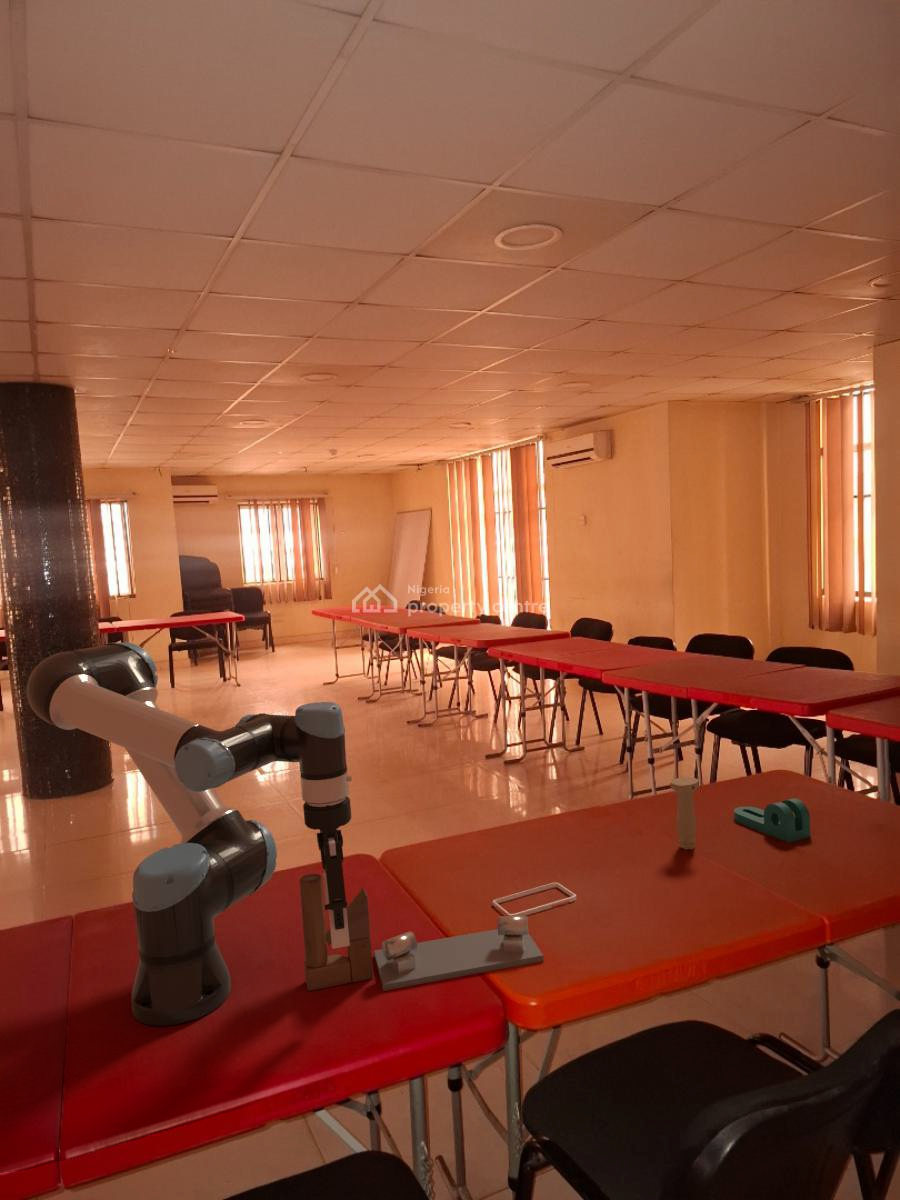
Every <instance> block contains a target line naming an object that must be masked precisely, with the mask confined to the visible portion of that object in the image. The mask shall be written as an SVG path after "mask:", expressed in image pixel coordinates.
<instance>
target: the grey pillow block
mask: <svg viewBox="0 0 900 1200" xmlns="http://www.w3.org/2000/svg"><path fill="white" fill-rule="evenodd" d="M417 943H418V941H417V938H416V935H415V934H414V932H413V931H411V930H410V931H407V932H403V933H402V934H399V935H397V936H396V935H395V936H394V937H391V938H388V939H386V940H383V941H382V942H381V949H382V951H383V954H384V956H385V958H386V964H387V965H388V966H390V967H391V968H392V969H393V970H394V971H395V972H396V973H397V974H398V975H400V974H402V973H405V972H407V971H410V970H412V969H415V968H416V963H415V956H414V955H413V954H412V953H410V952H411V951H414V950H416V949H417Z"/></svg>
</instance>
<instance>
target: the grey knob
mask: <svg viewBox="0 0 900 1200" xmlns="http://www.w3.org/2000/svg"><path fill="white" fill-rule="evenodd" d="M497 929H498V935H504V940H503V943H504V952H523V944H524V935H528V933H529V919H528V915H526V916H507V915H506V916H503V915H502V916H497Z"/></svg>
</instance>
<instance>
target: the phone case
mask: <svg viewBox="0 0 900 1200" xmlns="http://www.w3.org/2000/svg"><path fill="white" fill-rule="evenodd" d="M553 888H554V889H555V888H558V889H559V890H561V891H562V892H563V893H564V894H567V895H568V896H569V897H566V898H562V899H558V900H556V901H555V900H554V901H552V902H549V903H546V904H542V905H538V906H536V907H533V908H529V909H526V910H522V911H519V912H516V913H509V912H508V911H507V910H506V909H505V908H503V907H502V906H501V905H500V904H501V903H505V902H507V901H511V900H514V899H518V898H523V897H525V896H529V895H533V894H536V893H540V892H543V891H547V890H550V889H553ZM575 901H577V894H576V893H574V892H572V891H571V890H569V889H568V888H566V887H565V886H563V884H560V883H559V882H551V883H548V884H544V885H540V886H537V887H534V888H530V889H527V890H523V891H520V892H517V893H512V894H509V895H506V896H503V897H499V898H498V897H497V898H496V899H493V900H492V906H493V907H494V908H497V907H498V909H500V910H501V911H503V912H504V914H506V916H530V915H533V914H536V913H539V912H542V911H543V912H544V911H546V910H549V909H552V906H554V905H558V904H562V903H565V902H568V903H573V902H575Z"/></svg>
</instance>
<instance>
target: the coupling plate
mask: <svg viewBox="0 0 900 1200" xmlns="http://www.w3.org/2000/svg"><path fill="white" fill-rule="evenodd" d="M503 940H504V935H498V928H495V929H490V930H483V931H479V932H471V933H467V934H460V935H455V936H450V937H443V938H438V939H437V938H436V939H432V940H426V941H421V942H417V949H416V950H414V951H411V952H410V953H412V954H413V955H414V956H415V963H416V968H415V969H412V970H410V971H407V972H405V973H402V974H400V975H398V974H397V973H396V972H395V971H394V970H393V969H392V968H391V967H390V966H388V965H387V964H386V958H385V956H384V954H383V951H382V948H380V949H376V950H373V951H374V952H373V953H374V959H375V964H376V967H377V971H378V976H379V978H380V982H381V988H382V990H383V992H384V991H388V990H389V991H390V990H394V989H400V988H405V987H406V988H407V987H412V986H416V985H417V986H418V985H422V984H427V983H432V982H437V981H443V980H448V979H449V980H450V979H454V978H460V977H466V976H471V975H475V974H483V973H487V972H491V971H497V970H498V971H499V970H502V969H509V968H513V967H519V966H524V965H529V964H535V963H541V962H544V961H545V960H544V959H545V958H544V954H543V953H542V951H541V950H540V948H539V947H538V945H537V943H536V942H535V940H534V939H533V938H532V936H531V935H530V933H529V932H528V935H524V944H523V952H504V943H503Z"/></svg>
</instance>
